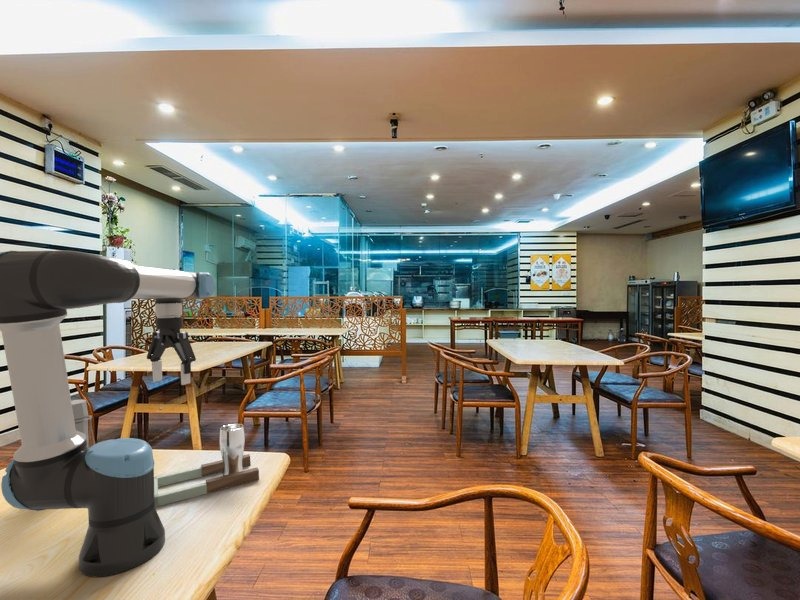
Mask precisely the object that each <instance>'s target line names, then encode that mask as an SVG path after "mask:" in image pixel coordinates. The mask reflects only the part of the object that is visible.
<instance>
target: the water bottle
mask: <svg viewBox="0 0 800 600" xmlns="http://www.w3.org/2000/svg"><path fill="white" fill-rule="evenodd" d="M71 403H72V409H73V415H74V422H75V428H76V431H79V432H81V433H83V434H85V435H86V440H87V446H88V449H89V448H90V447H91V446H92V440H93V445H94V444H96V441H95V436H94V430H93V427H92V424H93V423H92V419H93V415H89V412H88V405H87V400H86V399H73V400H72V399H71ZM88 422H89V423H88ZM88 424H89V425H88ZM91 433H92V435H91ZM91 436H92V439H91Z"/></svg>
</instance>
